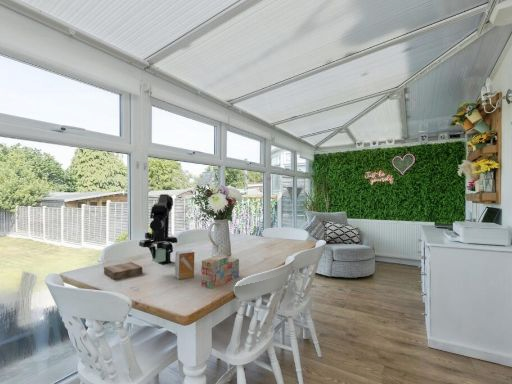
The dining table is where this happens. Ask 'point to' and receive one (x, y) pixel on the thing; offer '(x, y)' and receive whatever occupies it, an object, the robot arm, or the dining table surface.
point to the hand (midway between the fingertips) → (158, 257)
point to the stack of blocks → (218, 270)
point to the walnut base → (122, 270)
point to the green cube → (159, 255)
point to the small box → (184, 264)
